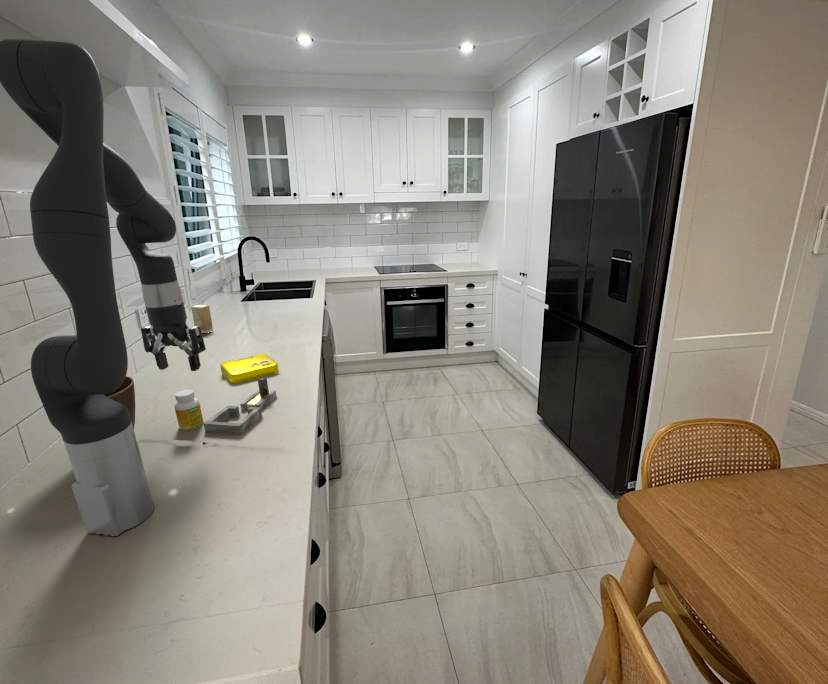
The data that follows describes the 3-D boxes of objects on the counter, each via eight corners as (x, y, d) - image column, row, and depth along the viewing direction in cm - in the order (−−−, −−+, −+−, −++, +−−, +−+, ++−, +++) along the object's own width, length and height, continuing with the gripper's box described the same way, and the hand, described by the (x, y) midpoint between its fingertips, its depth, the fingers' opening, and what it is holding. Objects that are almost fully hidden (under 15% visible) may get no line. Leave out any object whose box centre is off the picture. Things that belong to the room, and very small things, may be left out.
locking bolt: (255, 410, 111) (252, 389, 109) (247, 409, 112) (243, 389, 110) (271, 396, 119) (268, 377, 117) (263, 396, 119) (260, 377, 118)
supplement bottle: (194, 435, 102) (186, 398, 99) (175, 433, 103) (166, 397, 100) (209, 424, 107) (201, 388, 104) (190, 422, 108) (182, 387, 105)
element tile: (266, 363, 149) (264, 351, 147) (281, 376, 137) (279, 362, 136) (220, 374, 140) (218, 361, 139) (232, 389, 129) (230, 374, 127)
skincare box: (195, 333, 188) (190, 306, 184) (202, 330, 192) (197, 304, 188) (207, 334, 186) (202, 307, 183) (214, 331, 190) (209, 304, 186)
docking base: (245, 442, 98) (243, 429, 97) (195, 438, 100) (192, 425, 99) (293, 397, 120) (291, 386, 119) (251, 395, 123) (249, 384, 122)
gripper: (123, 305, 93) (141, 374, 98) (180, 306, 90) (195, 376, 95) (149, 298, 100) (165, 362, 105) (203, 298, 97) (216, 364, 102)
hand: (179, 369), depth 100 cm, fingers open, 8 cm apart
